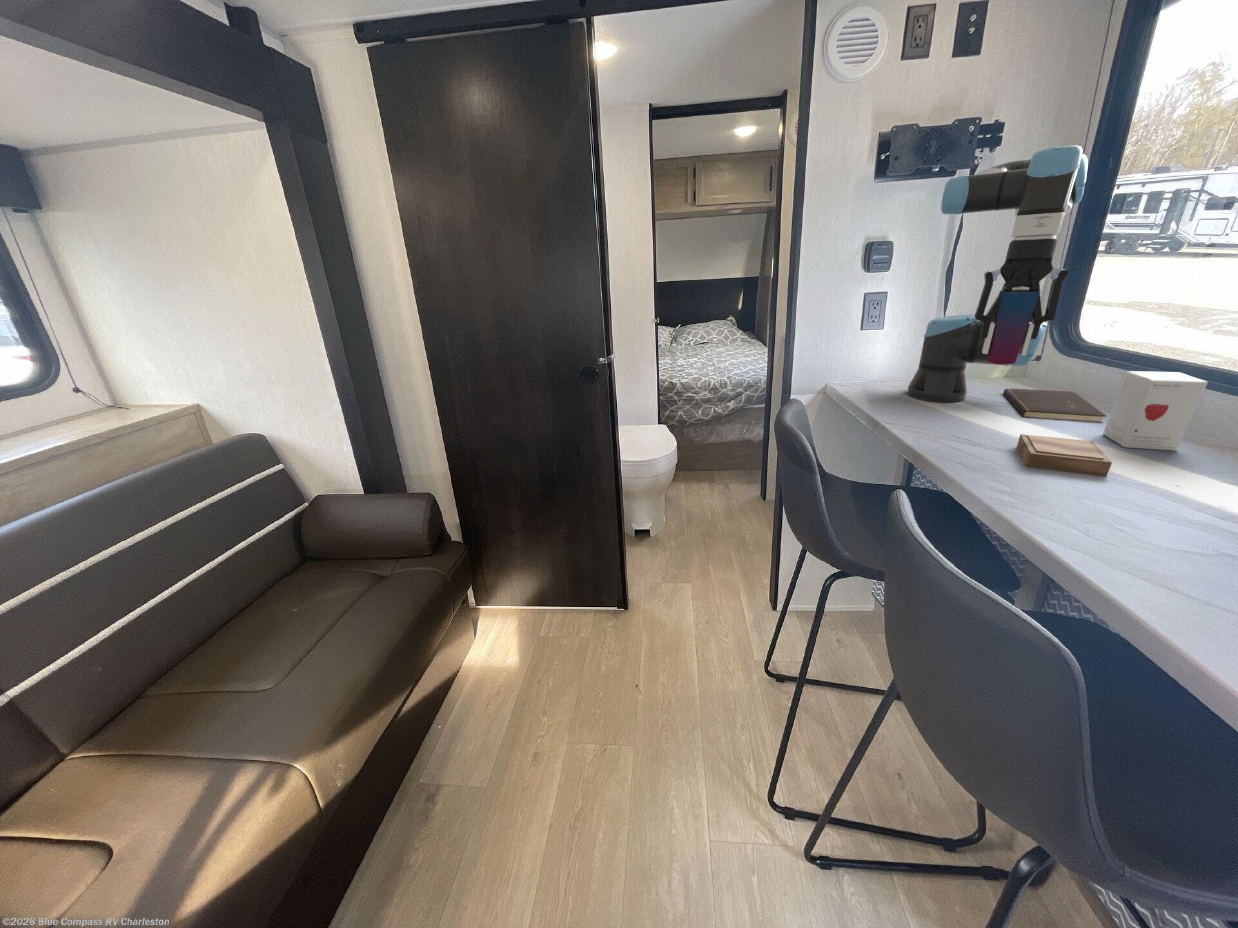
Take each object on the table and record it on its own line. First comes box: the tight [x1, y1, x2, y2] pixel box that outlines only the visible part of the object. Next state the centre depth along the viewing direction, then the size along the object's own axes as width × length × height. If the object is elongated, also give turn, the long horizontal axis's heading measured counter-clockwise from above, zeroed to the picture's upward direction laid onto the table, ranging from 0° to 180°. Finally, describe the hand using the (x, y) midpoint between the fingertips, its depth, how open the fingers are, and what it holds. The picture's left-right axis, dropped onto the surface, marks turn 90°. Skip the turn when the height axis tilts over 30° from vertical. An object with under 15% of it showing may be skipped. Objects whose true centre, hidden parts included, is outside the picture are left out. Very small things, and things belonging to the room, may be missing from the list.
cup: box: [987, 289, 1042, 364], centre depth 103 cm, size 7×7×15 cm
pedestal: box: [1016, 433, 1113, 477], centre depth 98 cm, size 12×12×3 cm
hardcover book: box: [1002, 388, 1107, 423], centre depth 130 cm, size 16×23×2 cm
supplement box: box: [1102, 370, 1208, 452], centre depth 102 cm, size 9×9×15 cm
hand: (1003, 353), depth 105 cm, fingers closed on cup, 6 cm apart
